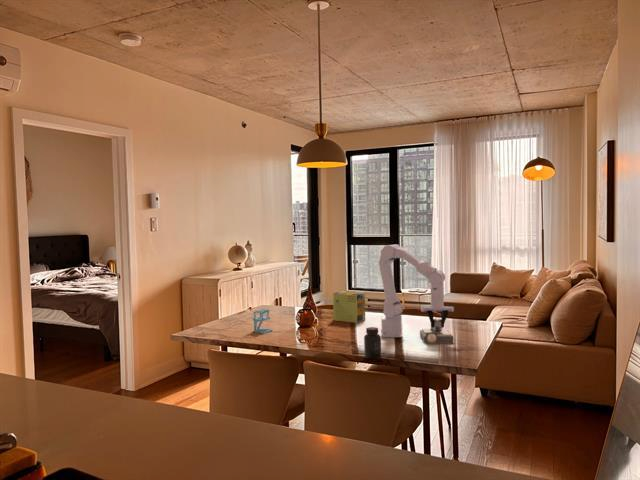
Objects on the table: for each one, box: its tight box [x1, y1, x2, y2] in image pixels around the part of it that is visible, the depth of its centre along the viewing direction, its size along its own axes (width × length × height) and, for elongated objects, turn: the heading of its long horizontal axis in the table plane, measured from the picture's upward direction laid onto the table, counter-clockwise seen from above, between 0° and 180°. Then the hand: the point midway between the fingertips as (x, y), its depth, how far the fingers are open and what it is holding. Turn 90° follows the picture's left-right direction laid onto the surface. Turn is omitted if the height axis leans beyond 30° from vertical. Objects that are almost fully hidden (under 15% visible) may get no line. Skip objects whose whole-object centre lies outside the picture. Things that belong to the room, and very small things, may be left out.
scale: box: [419, 328, 454, 345], centre depth 226 cm, size 13×15×5 cm
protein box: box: [332, 290, 366, 324], centre depth 276 cm, size 10×15×16 cm
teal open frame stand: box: [252, 308, 273, 335], centre depth 250 cm, size 8×8×12 cm
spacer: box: [433, 318, 443, 332], centre depth 224 cm, size 4×4×5 cm
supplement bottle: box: [363, 326, 382, 360], centre depth 199 cm, size 7×7×12 cm
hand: (437, 327), depth 224 cm, fingers closed on spacer, 4 cm apart
